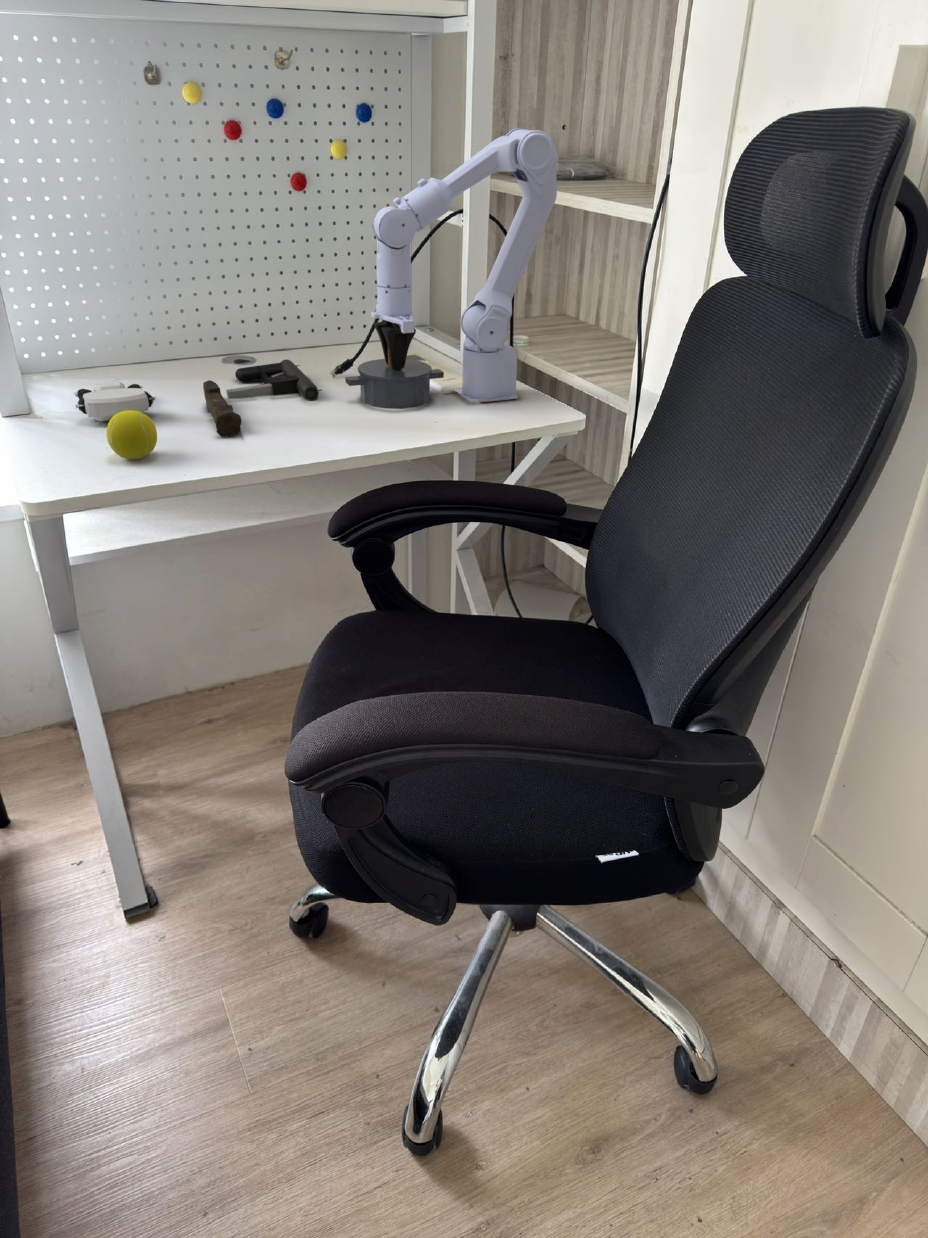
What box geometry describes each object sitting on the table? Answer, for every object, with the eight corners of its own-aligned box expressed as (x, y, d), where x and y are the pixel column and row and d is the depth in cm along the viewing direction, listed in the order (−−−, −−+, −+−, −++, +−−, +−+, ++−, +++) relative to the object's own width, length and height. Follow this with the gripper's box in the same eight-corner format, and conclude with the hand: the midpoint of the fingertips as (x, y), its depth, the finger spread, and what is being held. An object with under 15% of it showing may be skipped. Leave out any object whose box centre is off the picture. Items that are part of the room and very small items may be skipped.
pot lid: (349, 367, 164) (348, 340, 162) (416, 362, 169) (416, 336, 166) (370, 386, 154) (370, 358, 152) (442, 380, 158) (443, 353, 156)
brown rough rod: (243, 436, 145) (240, 407, 143) (217, 438, 144) (214, 409, 142) (226, 403, 161) (223, 376, 158) (202, 404, 159) (199, 378, 157)
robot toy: (73, 409, 158) (81, 429, 145) (68, 383, 156) (76, 400, 143) (147, 402, 162) (161, 420, 150) (143, 376, 160) (156, 392, 148)
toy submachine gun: (233, 396, 155) (324, 383, 160) (213, 367, 171) (297, 356, 176) (236, 415, 157) (327, 401, 162) (216, 385, 173) (299, 373, 178)
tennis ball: (163, 448, 139) (156, 403, 136) (157, 465, 134) (150, 418, 130) (115, 450, 138) (107, 404, 135) (107, 466, 132) (98, 419, 129)
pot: (338, 396, 166) (337, 365, 163) (429, 387, 172) (429, 358, 169) (358, 415, 156) (357, 383, 153) (453, 406, 162) (454, 375, 159)
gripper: (358, 278, 158) (360, 357, 165) (385, 294, 147) (386, 378, 153) (397, 276, 161) (397, 354, 167) (426, 292, 149) (425, 375, 156)
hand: (394, 366), depth 161 cm, fingers closed on pot lid, 2 cm apart
